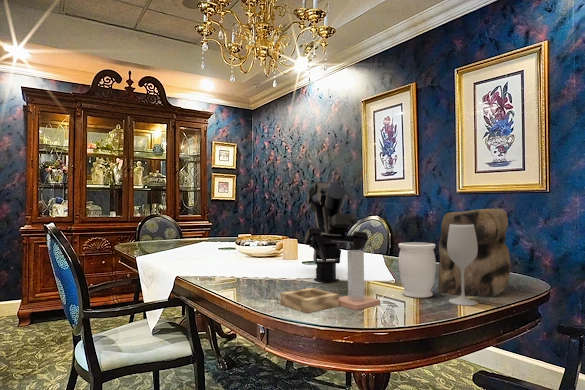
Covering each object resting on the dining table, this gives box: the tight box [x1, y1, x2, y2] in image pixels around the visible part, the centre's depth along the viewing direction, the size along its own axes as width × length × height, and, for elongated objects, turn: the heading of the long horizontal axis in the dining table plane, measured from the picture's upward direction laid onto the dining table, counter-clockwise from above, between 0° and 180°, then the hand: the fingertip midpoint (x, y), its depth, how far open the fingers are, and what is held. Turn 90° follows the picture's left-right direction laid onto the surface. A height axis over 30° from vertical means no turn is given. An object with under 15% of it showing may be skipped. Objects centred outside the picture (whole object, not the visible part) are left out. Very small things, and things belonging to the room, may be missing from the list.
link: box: [347, 249, 365, 301], centre depth 106 cm, size 3×3×13 cm
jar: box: [398, 241, 437, 299], centre depth 116 cm, size 11×10×15 cm
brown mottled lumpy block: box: [436, 208, 512, 297], centre depth 122 cm, size 20×20×25 cm
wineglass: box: [447, 224, 479, 307], centre depth 107 cm, size 8×8×21 cm
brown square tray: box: [280, 287, 340, 314], centre depth 105 cm, size 11×11×3 cm
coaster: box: [339, 295, 381, 311], centre depth 106 cm, size 9×9×1 cm
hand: (340, 262), depth 115 cm, fingers open, 9 cm apart
